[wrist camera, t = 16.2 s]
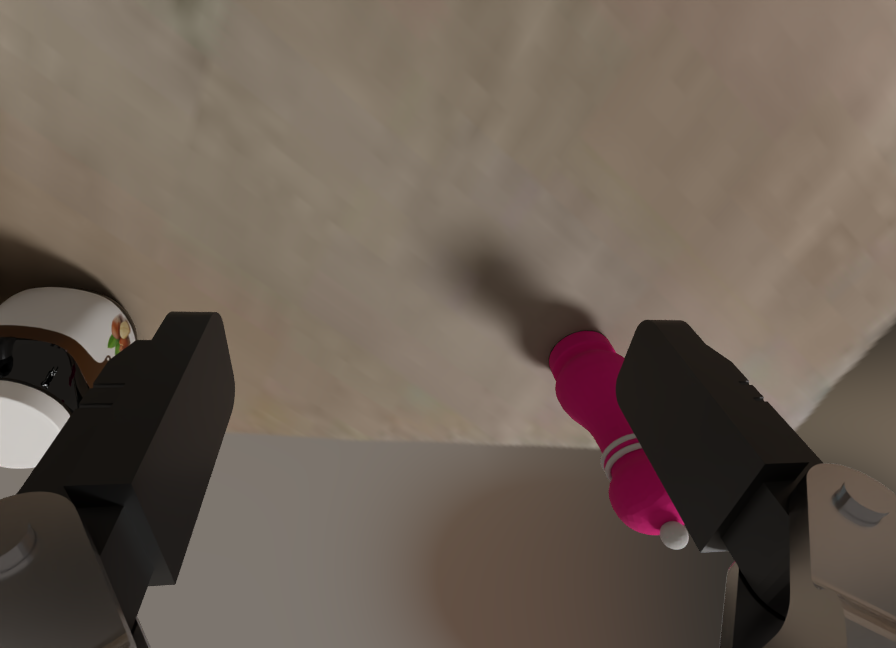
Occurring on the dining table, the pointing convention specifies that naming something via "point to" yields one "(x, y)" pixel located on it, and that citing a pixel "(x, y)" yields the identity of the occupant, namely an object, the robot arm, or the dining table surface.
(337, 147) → the dining table surface
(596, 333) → the pepper mill
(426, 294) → the dining table surface
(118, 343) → the spread jar
